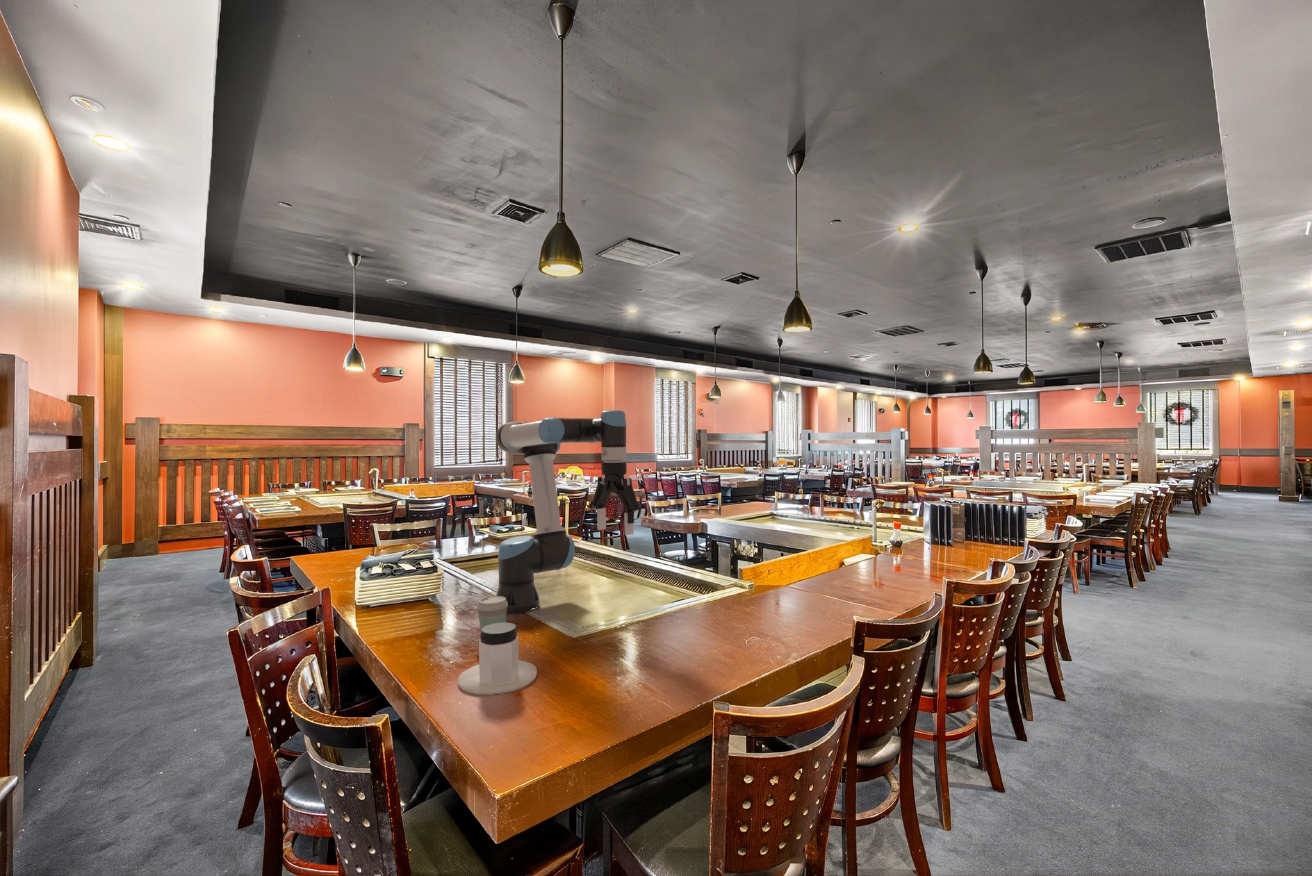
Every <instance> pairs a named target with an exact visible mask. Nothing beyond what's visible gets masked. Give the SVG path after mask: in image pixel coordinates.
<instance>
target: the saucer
mask: <svg viewBox="0 0 1312 876" xmlns="http://www.w3.org/2000/svg"><path fill="white" fill-rule="evenodd" d="M537 672H538V671H537V667H536V666H535V665H534V664H533V663H530V662H528V661H525V660H520V659H519V676H518V677H517V678H516V679H515V680H514V682H513V683H512V684H507V685H501V686H496V687H490V686H488V685H485V684H483V683H480V682H479V664H476V665H473V666H471V667H469V668H467V669H465V670H464V671H463V672H462V673H460V675H459V677H458V680H457V683H458V685H457V686H458V688H459V689H460V690H461V691H462V690H463V691H462V692H464V693H467V694H470V695H474V694H475V695H476V694H477V695H476V696H495V695H494V694H499V695H503V694H504V693H505V694H508V693H507V692H510V693H513V692H516V690H517V691H519V690H522V689H523V688H526V687H527V686H529V685H531V684H532V683H533V682H534V681H535V680H536V679H537V677H538V675H537ZM536 676H537V677H536ZM530 683H531V684H530ZM512 691H513V692H512Z"/></svg>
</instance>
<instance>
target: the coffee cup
mask: <svg viewBox="0 0 1312 876" xmlns="http://www.w3.org/2000/svg"><path fill="white" fill-rule="evenodd" d="M477 602H478V603H477V605H476V609H477V612H478V614H477V615H478V620H479V621H478V623H479V630H480V631H481V629H482V628H483V627H484V626H486V625H489V624H494V623H507V621H506V620H507V613H506V612H507V606H508V602H507V601H506V598H505V597H501V596H496V595H493V596H485V597H483V598H480V599H478V601H477Z"/></svg>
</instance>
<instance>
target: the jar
mask: <svg viewBox="0 0 1312 876" xmlns="http://www.w3.org/2000/svg"><path fill="white" fill-rule="evenodd" d="M517 629H518V627H517V625H516V624H515V623H512V622H505V623H494V624H489V625H486V626H484V627H483V628H482V629H481V630H480V634H479V635H480V637H479V638H480V640H479V642H478V658H479V659H478V665H479V682H480V683H483V684H485V685H488V686H490V687H496V686H501V685H507V684H512V683H513V682H514V680H515V679H516V678H517V677H518V676H519V660H520V658H519V654H520V653H519V651H520V650H519V636H518V634H517Z"/></svg>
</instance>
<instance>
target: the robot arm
mask: <svg viewBox="0 0 1312 876" xmlns="http://www.w3.org/2000/svg"><path fill="white" fill-rule="evenodd" d="M495 441H496V444H497V446H498V447H499V448H500V449H501V450H502V451H504V452H505V453H508V454H514V455H523V459H524V461H525V462H526V463H528V467H529V475H530V484H531V491H532V501H533V507H534V508H533V509H534V516H535V524H536V525H535V526H536V530H535V532H533V536H531V535H521V536H519V535H518V536H514V537H511V538H506V539H505V540H503V541H502V542H501V543H500V544H499V545H498V553H497V558H498V561H497V562H498V588H497V591H496V594H495V596H501V597H505V598H506V601H507V602H508V606H507V612H506V615H508V614H509V615H510V614H521V613H527V612H528V613H529V612H531V611H530V610H531V609H532V608H536V607H538V608H539V607H540V596H539V594H538V591H537V589H536V588H537V587H536V586H535V574H540V573H546V572H552V571H559V570H561V569H566V568H567V567H570V565H571V564H572V563H573V561H574V558H575V554H576V553H575V551H576V546H575V545H576V544H575V541H574V540H573V537H572V536H571V535H569V534H567V530H566V529H565V527H563V526H562V523H561V518H560V517H561V516H560V508H559V501H558V492H557V491H558V490H557V486H556V485H557V484H556V475H555V470H554V459H556V457H557V453H558V452H559V451H560V450H561V449H560V448H561V444H564V443H567V444H568V443H569V444H570V443H574V444H575V443H588V444H590V443H601V461H603V462H602V463H601V475H603V476H598V477H597V485H596V488H595V491H594V495H593V497H592V498H593V499H592V503H591V505H592V506H593V507H595V509H596V518H597V521H596V522H597V526H596V527H597V531H603V530H607V516H606V515H607V511H606V509H607V508H606V503H607V502H608V500H609V498H610V495H611V494H612V493H613V494H616V495H617V496H618V497H619V500H620V502H621V504H622V505H623V508H624V510H625V511H624V519H623V521H624V536H631V535H634V524H635V512H637V511H640V506H639V504H638V501H637V497H636V493H635V491H634V487H633V479H632V478H626V477H625V475H627V470H628V469H627V467H628V466H627V463H626V462H625V461H626V460H628V459H627V421H626V412H625V411H624V410H618V409H617V410H614V409H613V410H611V409H609V410H603V411H601V412H600V417H599V418H598V417H597V418H594V417H593V418H590V417H588V418H587V417H582V418H581V417H579V418H578V417H571V418H570V417H569V418H568V417H557V416H555V417H545V418H542V419H541V420H539V421H511V422H506V423H504V424H502V425H501V426H499V428H498V429H497V431H496V433H495Z"/></svg>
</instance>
